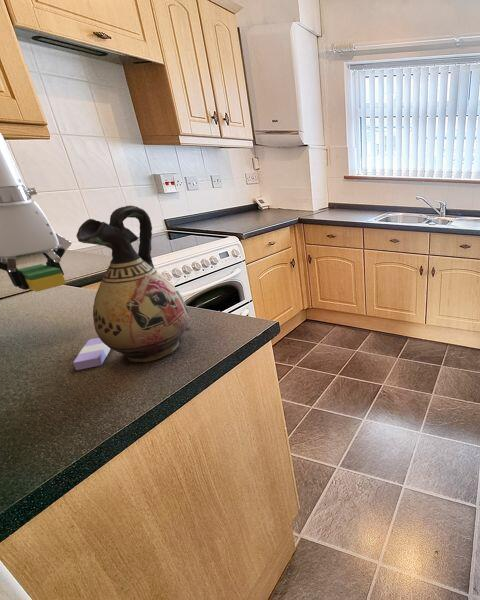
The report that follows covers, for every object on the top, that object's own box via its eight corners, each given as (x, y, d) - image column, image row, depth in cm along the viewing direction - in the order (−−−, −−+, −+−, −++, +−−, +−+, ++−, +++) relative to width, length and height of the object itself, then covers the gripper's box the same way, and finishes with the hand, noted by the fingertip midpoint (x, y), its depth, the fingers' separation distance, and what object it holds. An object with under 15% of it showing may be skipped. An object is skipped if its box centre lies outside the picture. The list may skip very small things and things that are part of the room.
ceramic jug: (149, 378, 63) (88, 217, 51) (91, 364, 68) (22, 213, 55) (218, 334, 78) (184, 202, 66) (167, 326, 82) (126, 199, 70)
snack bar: (101, 365, 67) (98, 357, 67) (75, 370, 66) (72, 362, 65) (114, 342, 76) (111, 335, 75) (91, 346, 74) (88, 339, 73)
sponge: (17, 286, 72) (10, 270, 71) (47, 278, 76) (41, 264, 75) (36, 291, 69) (29, 275, 68) (66, 283, 73) (60, 268, 72)
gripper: (47, 191, 74) (80, 270, 81) (-77, 201, 59) (-24, 295, 67) (65, 192, 71) (97, 274, 78) (-60, 203, 57) (-7, 301, 64)
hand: (41, 283), depth 72 cm, fingers closed on sponge, 5 cm apart
